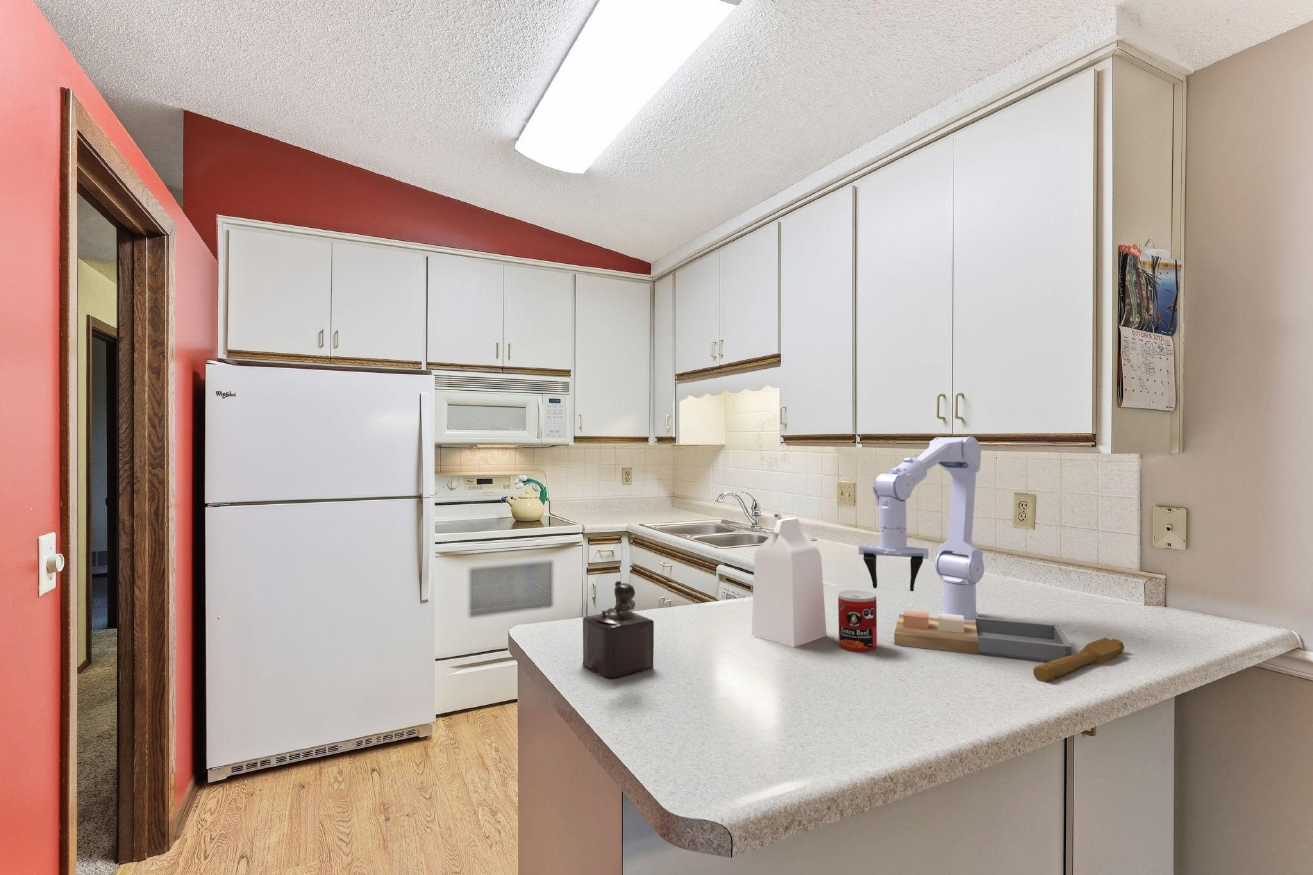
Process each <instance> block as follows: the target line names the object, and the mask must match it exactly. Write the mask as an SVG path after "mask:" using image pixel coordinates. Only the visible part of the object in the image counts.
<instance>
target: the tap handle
mask: <svg viewBox="0 0 1313 875" xmlns="http://www.w3.org/2000/svg"><path fill="white" fill-rule="evenodd" d="M1124 650H1125V645H1124V643H1123V642H1122V641H1121V640H1119V639H1117V638H1111V639H1110V638H1108V637H1106V636H1105V637H1103V638H1100V639H1097V640H1095V641H1091V642H1088V643H1086V645H1085V646H1084V647H1083V648H1082V649H1081V650H1080V651H1079V652H1078V653H1076V654H1075V653H1074V654H1072V655H1071V656H1067V657H1063V658H1060V659H1056V660H1053V661H1050V662H1043V663H1041V664H1038V665H1036V666H1034V668H1033V669H1032V673H1033V676H1034V677H1035V679H1036V681H1039V682H1042V683H1046V682H1050V681H1051V680H1054V679H1057V678H1058V677H1062V676H1065V675H1067V674H1068V673H1070V672H1072V671H1075V670H1076V669H1078V668H1080V667H1083V666H1085V665H1091V664H1095V665H1096V664H1099V663H1102V662H1104V661H1107V660H1109V659H1112V658H1114V657H1117V656H1118V655H1119V654H1121V653H1123V652H1124Z"/></svg>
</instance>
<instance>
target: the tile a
mask: <svg viewBox="0 0 1313 875" xmlns="http://www.w3.org/2000/svg"><path fill="white" fill-rule="evenodd" d="M902 615H903V627H909V628H919V629H928V626H929V615H930V613H929V612H928V611H921V610H920V611H919V610H908V609H904V611H903V614H902Z"/></svg>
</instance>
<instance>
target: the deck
mask: <svg viewBox="0 0 1313 875" xmlns="http://www.w3.org/2000/svg"><path fill="white" fill-rule="evenodd" d="M903 615H904V614H898V618H897V621H896V626H895V629H894V633H893V634H894V636H893V637H894V640H893V641H894V645H895V646H902V647H911V648H920V649H930V650H936V651H947V652H953V653H954V652H955V653H963V654H970V655H971V654H973V655H979V642H978V635H977V629H976V623H975V622H974V621H964V633H958V632H948V631H938V617H933V616H931V617H929V626H928V629H919V628H909V627H903Z"/></svg>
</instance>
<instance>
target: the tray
mask: <svg viewBox="0 0 1313 875" xmlns="http://www.w3.org/2000/svg"><path fill="white" fill-rule="evenodd" d="M975 623H976V629H977V635H978V642H979V654H978V656H979V655H981V656H990V657H996V658H997V657H999V658H1005V659H1006V658H1007V659H1016V660H1023V661H1031V662H1032V661H1033V662H1040V663H1041V662H1042V663H1047V662H1050V661H1053V660H1056V659H1060V658H1063V657H1067V656H1071V655H1073V646H1072V645H1071V643H1070V642H1069V640H1068V638H1067V637H1066V635H1065V634H1064V632H1063V630H1062V628H1061V627H1060V625H1059V624H1052V623H1043V622H1033V621H1032V622H1030V621H1021V620H1019V621H1018V620H1010V619H998V618H988V617H979V616H978V617H975Z"/></svg>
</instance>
